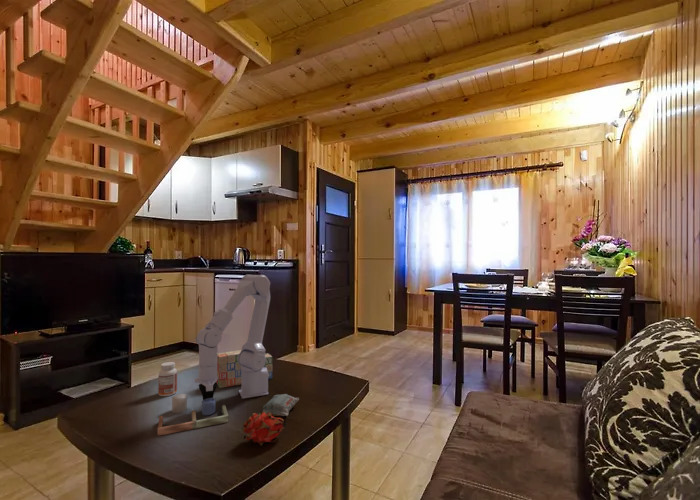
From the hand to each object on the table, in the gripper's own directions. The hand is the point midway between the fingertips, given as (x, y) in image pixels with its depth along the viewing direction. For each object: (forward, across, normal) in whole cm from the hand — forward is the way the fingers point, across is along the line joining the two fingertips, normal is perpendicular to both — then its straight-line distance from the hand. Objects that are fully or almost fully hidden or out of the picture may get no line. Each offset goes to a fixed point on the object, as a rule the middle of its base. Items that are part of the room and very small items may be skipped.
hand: (207, 405), depth 115 cm
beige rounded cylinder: (+1, -3, -8) cm, 9 cm away
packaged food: (+1, +13, +22) cm, 25 cm away
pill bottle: (+1, -21, -13) cm, 25 cm away
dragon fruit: (+1, +29, +13) cm, 31 cm away
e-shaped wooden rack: (+1, +8, -4) cm, 9 cm away
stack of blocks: (+1, -23, +16) cm, 27 cm away
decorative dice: (+1, +3, 0) cm, 3 cm away
